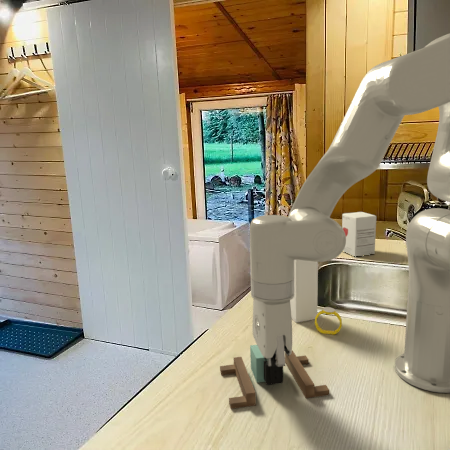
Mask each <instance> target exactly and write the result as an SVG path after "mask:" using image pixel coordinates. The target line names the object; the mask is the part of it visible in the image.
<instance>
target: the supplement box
mask: <svg viewBox="0 0 450 450" xmlns="http://www.w3.org/2000/svg"><path fill="white" fill-rule="evenodd" d="M341 216H342V218H341V219H342V222H341V223H342V224H341V227H342V228H343V230H344V232H345V235H346V245H345V248H344V250H343V251H344V252H346V253H349V254H351V255H353V256H355V257H354V258H357V257H356V256H362V257H364V256H363V255H369V256H371V255H370V254H375V253H376V252H375V250H376V229H377V215H375V214H371V213H369V212H368V213H367V212H363V211H357V212H344V213H342V215H341ZM344 252H343V253H344ZM346 253H345V254H346ZM351 255H350V256H351ZM375 255H376V254H375ZM353 256H352V257H353Z"/></svg>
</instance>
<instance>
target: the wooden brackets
mask: <svg viewBox="0 0 450 450" xmlns="http://www.w3.org/2000/svg"><path fill="white" fill-rule="evenodd" d="M309 360H310V359H309V358H308V356H307V355H305V354H304V355H299V356H297V355H296V353H295V352H294V351H293V349H292V353H291V355H290V356H288V355H287V354H286V353H285V366H286V367H287V369H288V371H289V372H290V373H291V375H292V377H293V379H294V380H295V382H296V384H297V385H298V388H299V389H300V391H301V393H302V394H303V396H304V398H305V399H309V398H310V399H311V398H317V397H318V398H319V397H326V396H329V395H330V388H329V387H328V386H327V384H323V385H321V384H320V385H315V383H314V381H313V380H312V378H311V377H310V375H309V374H308V372H307V370H306V369H305V367H304V365H309ZM219 371H220V375H221V376H225V375H233V374H235V376H236V379H237V382H238V384H239V387H240V391H241V394H242V396H235V397H233V396H232V397H228V404H229V407H230V409H231V410H233V409H239V408H240V409H241V408H248V407H255V406H256V405H257V403H256V399H257V397H256V390H255V388H254V385H253V382H252V379H251V377H250V375H249V373H248V370H247V367H246V365H245V362H244V359H243V357H242V356H237V357H236V356H235V357H233V364H227V365H226V364H225V365H220V366H219Z"/></svg>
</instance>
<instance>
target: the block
mask: <svg viewBox="0 0 450 450" xmlns="http://www.w3.org/2000/svg"><path fill="white" fill-rule="evenodd" d="M249 347H250V348H249V349H250V354H249V355H250V369H251V372H252V376H253V377H254V379H255V382H256V383H264V382H265V380H264V361H265V360H264V356H263V355H262V353H261V351H260V349H259V348H258V346H257V344H254V345H253V344H251V345H250V346H249Z"/></svg>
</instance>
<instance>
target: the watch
mask: <svg viewBox="0 0 450 450" xmlns="http://www.w3.org/2000/svg"><path fill="white" fill-rule="evenodd" d="M323 314H324V315H328V316H332V315H333V316H335V317H336V318H337V319H338V322H339V326H338V328H336V329H335V330H327V329H326V330H325V329H322V327H320V326H319V322H318V318H319V316H321V315H323ZM314 326H315V328H316V331H318V332H319V333H320V334H325V335H332V336H335V335H337V334H338V333H339V332H340V331H341V329H342V327H343V321H342V317H341V316H340V314H339V312H337V311H336V309H335V308H333V307H330V306H325V307H323V308H322V310H320V311H317V315H316V317H315V319H314Z"/></svg>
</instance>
